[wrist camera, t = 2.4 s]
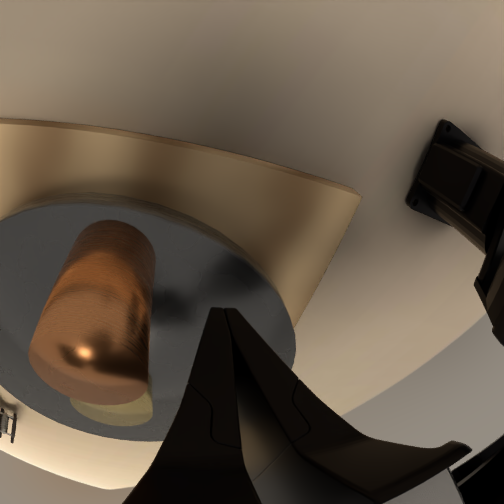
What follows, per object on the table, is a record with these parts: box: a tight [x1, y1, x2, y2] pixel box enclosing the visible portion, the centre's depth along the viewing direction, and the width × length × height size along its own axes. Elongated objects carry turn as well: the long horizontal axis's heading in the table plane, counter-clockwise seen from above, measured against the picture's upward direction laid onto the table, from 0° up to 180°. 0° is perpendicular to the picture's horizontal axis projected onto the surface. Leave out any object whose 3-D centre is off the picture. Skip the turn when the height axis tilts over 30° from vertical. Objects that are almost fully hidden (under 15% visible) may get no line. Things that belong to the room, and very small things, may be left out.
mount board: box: [0, 119, 362, 329], centre depth 17 cm, size 23×23×4 cm
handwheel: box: [0, 192, 296, 441], centre depth 12 cm, size 20×20×6 cm
